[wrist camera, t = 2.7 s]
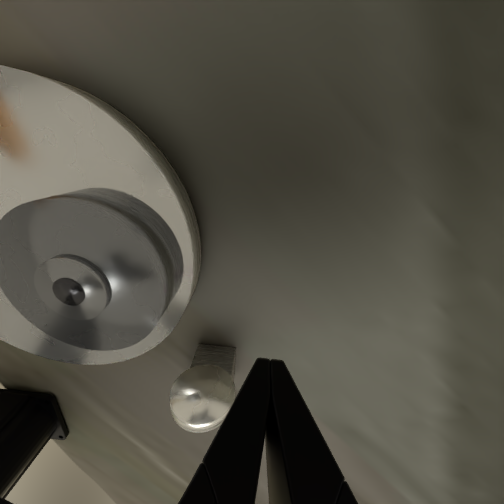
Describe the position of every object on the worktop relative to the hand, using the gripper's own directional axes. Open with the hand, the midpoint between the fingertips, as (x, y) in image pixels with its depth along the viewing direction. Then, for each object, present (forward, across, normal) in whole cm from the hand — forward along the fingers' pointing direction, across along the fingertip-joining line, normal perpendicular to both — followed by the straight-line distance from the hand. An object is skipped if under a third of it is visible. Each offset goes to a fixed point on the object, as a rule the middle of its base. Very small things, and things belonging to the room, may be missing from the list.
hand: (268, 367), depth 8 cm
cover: (+6, +9, 0) cm, 11 cm away
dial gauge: (+9, +3, +10) cm, 14 cm away
